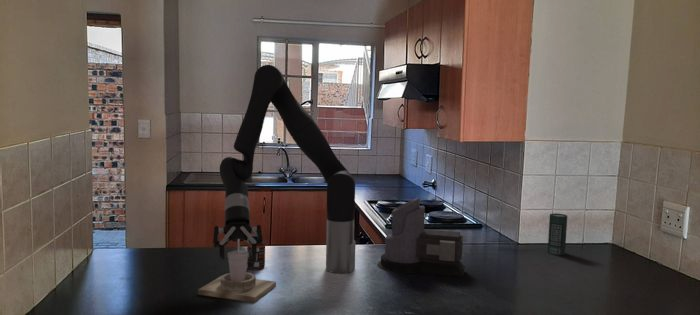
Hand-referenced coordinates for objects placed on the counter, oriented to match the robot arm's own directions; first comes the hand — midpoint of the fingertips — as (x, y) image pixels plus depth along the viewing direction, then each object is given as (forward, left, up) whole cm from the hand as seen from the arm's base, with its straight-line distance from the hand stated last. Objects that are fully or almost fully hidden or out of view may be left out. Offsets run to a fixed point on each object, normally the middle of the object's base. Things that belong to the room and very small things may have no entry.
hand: (238, 258), depth 154 cm
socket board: (+1, -1, -10) cm, 10 cm away
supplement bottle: (+6, -23, -10) cm, 26 cm away
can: (-94, -81, -10) cm, 125 cm away
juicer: (-47, -43, -11) cm, 65 cm away
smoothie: (+1, -1, -9) cm, 9 cm away
